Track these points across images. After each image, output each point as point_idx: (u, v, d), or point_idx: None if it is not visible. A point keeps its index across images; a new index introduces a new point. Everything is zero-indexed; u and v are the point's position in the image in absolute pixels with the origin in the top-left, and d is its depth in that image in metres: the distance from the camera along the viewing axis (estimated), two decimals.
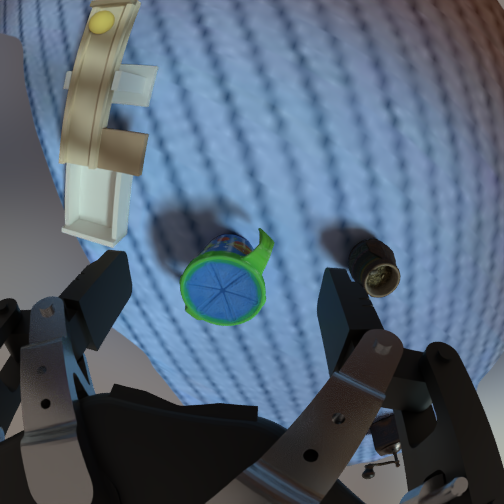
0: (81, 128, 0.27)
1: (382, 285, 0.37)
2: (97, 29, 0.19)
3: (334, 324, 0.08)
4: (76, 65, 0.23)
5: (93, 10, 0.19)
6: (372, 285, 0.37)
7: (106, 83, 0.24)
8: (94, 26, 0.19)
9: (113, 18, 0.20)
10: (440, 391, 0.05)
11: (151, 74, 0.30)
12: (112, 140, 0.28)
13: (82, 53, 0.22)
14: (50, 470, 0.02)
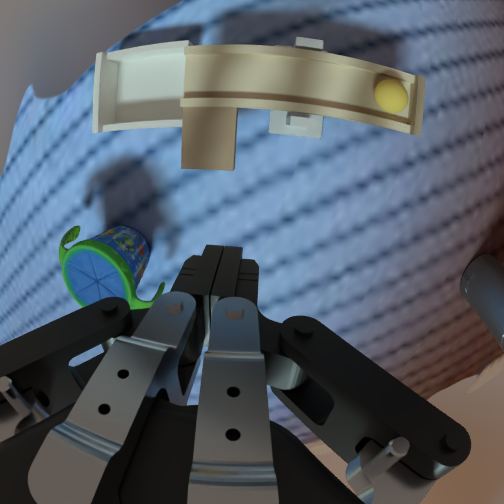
0: (236, 74, 0.21)
1: None
2: (382, 96, 0.19)
3: None
4: (331, 58, 0.19)
5: (410, 77, 0.19)
6: None
7: (300, 110, 0.22)
8: (387, 94, 0.18)
9: (393, 112, 0.20)
10: (319, 368, 0.06)
11: (310, 132, 0.29)
12: (221, 125, 0.23)
13: (348, 64, 0.19)
14: (50, 470, 0.02)
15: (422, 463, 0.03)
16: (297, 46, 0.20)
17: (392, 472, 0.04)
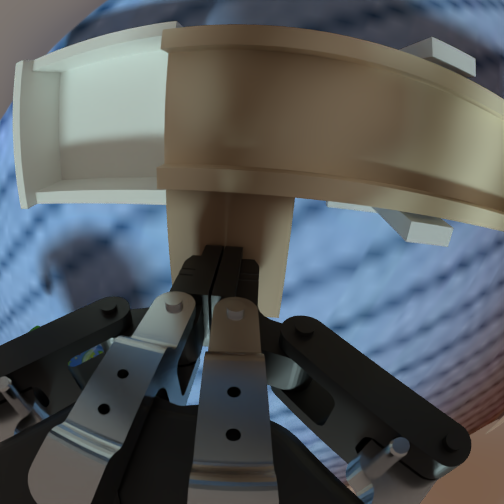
0: (297, 106, 0.09)
1: None
2: None
3: None
4: (492, 102, 0.07)
5: None
6: None
7: (433, 212, 0.09)
8: None
9: None
10: (319, 368, 0.06)
11: None
12: (257, 231, 0.11)
13: None
14: (50, 470, 0.02)
15: (422, 463, 0.03)
16: (430, 58, 0.07)
17: (392, 472, 0.04)
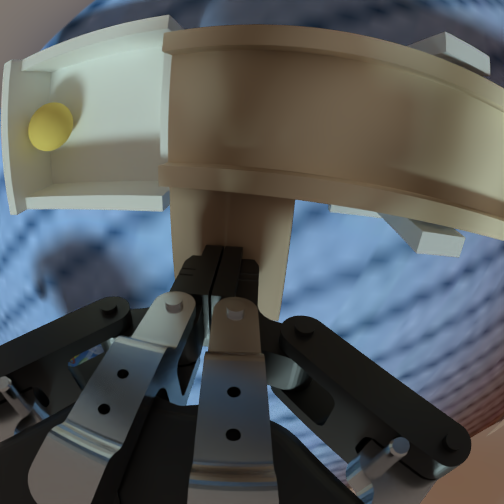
0: (296, 106, 0.09)
1: None
2: (36, 135, 0.11)
3: None
4: None
5: None
6: None
7: (441, 220, 0.08)
8: (42, 129, 0.11)
9: None
10: (319, 368, 0.06)
11: None
12: (257, 232, 0.11)
13: None
14: (50, 470, 0.02)
15: (422, 463, 0.03)
16: (443, 55, 0.06)
17: (392, 472, 0.04)
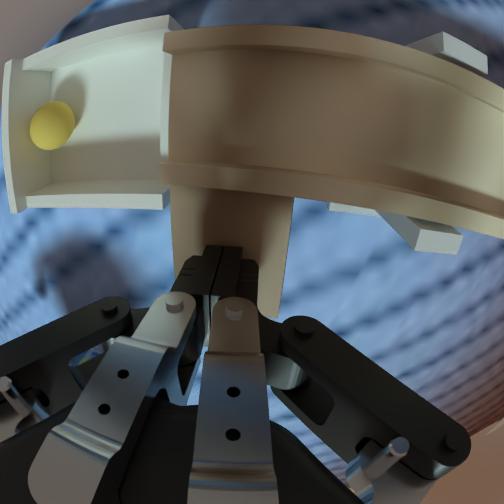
0: (295, 104, 0.09)
1: None
2: (39, 133, 0.12)
3: None
4: None
5: None
6: None
7: (439, 218, 0.09)
8: (45, 128, 0.11)
9: None
10: (319, 369, 0.06)
11: None
12: (256, 229, 0.11)
13: None
14: (50, 470, 0.02)
15: (422, 463, 0.03)
16: (441, 54, 0.06)
17: (392, 472, 0.04)
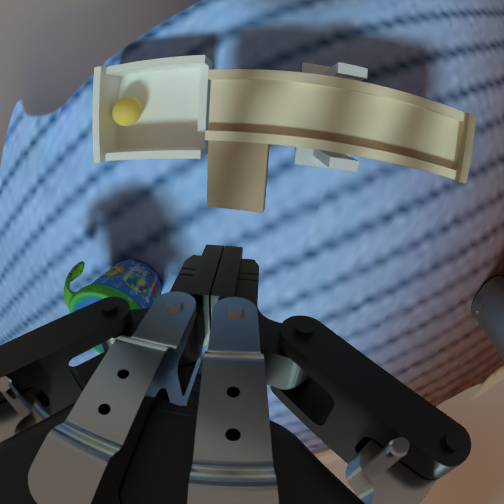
0: (267, 104, 0.20)
1: None
2: (123, 114, 0.23)
3: None
4: (375, 90, 0.17)
5: (459, 114, 0.16)
6: None
7: (338, 150, 0.20)
8: (128, 111, 0.23)
9: (128, 124, 0.25)
10: (319, 368, 0.06)
11: None
12: (251, 162, 0.22)
13: None
14: (50, 470, 0.02)
15: (422, 463, 0.03)
16: (338, 73, 0.17)
17: (392, 472, 0.04)
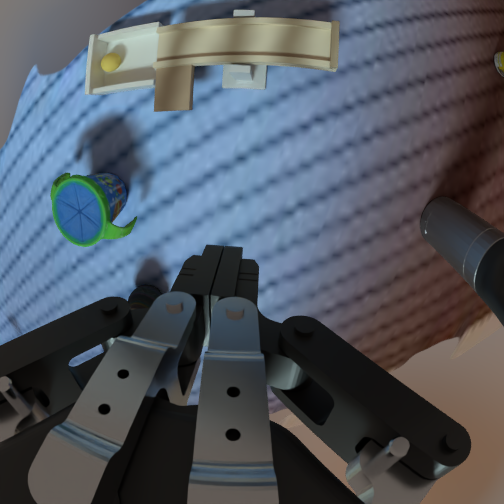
0: (191, 42, 0.26)
1: None
2: (108, 62, 0.29)
3: None
4: (257, 20, 0.23)
5: (327, 24, 0.22)
6: None
7: (234, 60, 0.26)
8: (112, 60, 0.29)
9: (111, 71, 0.31)
10: (319, 368, 0.06)
11: (256, 85, 0.34)
12: (181, 78, 0.29)
13: (272, 23, 0.23)
14: (50, 470, 0.02)
15: (422, 463, 0.03)
16: (235, 16, 0.24)
17: (392, 472, 0.04)
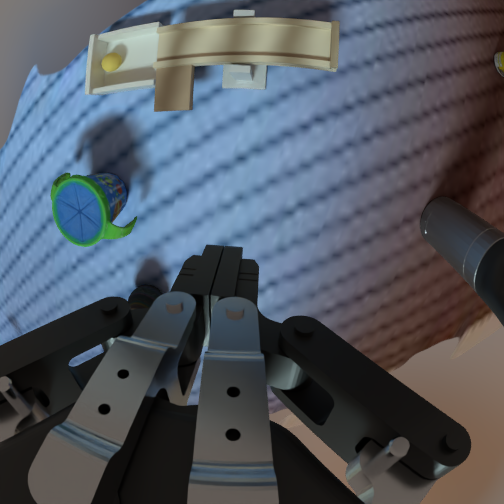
0: (191, 42, 0.26)
1: None
2: (109, 62, 0.29)
3: None
4: (257, 20, 0.23)
5: (327, 24, 0.22)
6: None
7: (234, 60, 0.26)
8: (113, 60, 0.29)
9: (111, 71, 0.31)
10: (319, 368, 0.06)
11: (256, 85, 0.34)
12: (181, 78, 0.29)
13: (272, 23, 0.23)
14: (50, 470, 0.02)
15: (422, 463, 0.03)
16: (235, 16, 0.24)
17: (392, 472, 0.04)
